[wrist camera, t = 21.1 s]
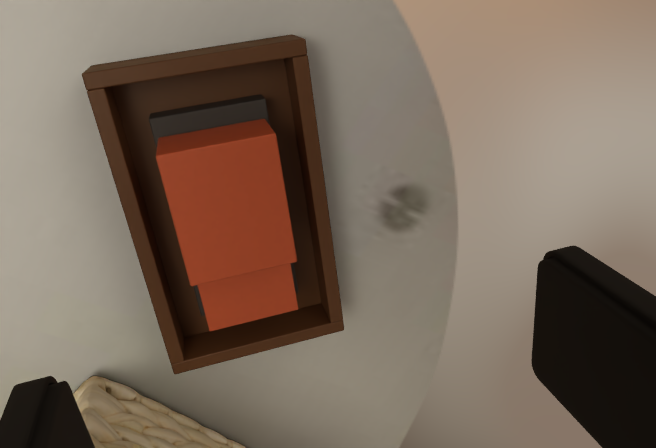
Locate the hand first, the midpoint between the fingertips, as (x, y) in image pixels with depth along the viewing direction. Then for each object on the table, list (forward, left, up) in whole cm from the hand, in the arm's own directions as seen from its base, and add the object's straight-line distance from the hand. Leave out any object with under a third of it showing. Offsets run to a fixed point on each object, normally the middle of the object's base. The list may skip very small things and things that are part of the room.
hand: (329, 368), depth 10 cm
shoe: (+5, -1, -22) cm, 22 cm away
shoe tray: (+5, -1, -22) cm, 23 cm away
